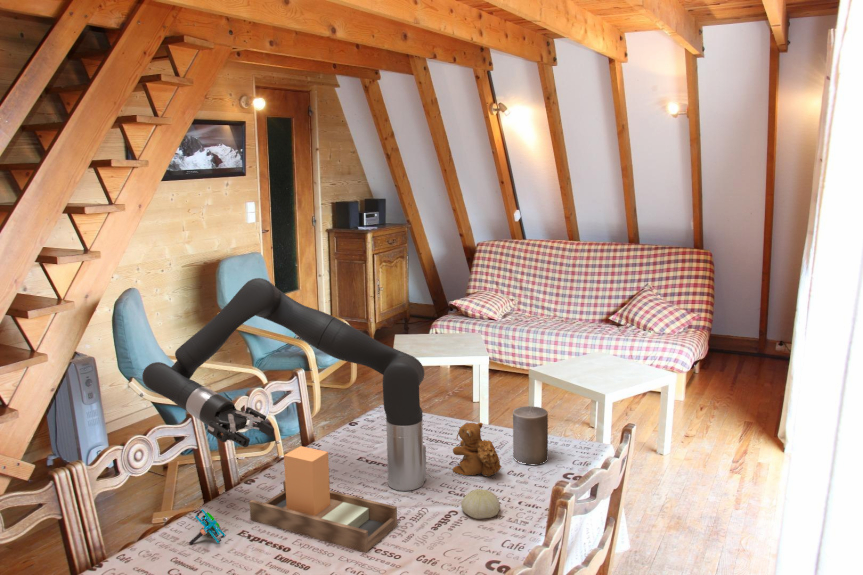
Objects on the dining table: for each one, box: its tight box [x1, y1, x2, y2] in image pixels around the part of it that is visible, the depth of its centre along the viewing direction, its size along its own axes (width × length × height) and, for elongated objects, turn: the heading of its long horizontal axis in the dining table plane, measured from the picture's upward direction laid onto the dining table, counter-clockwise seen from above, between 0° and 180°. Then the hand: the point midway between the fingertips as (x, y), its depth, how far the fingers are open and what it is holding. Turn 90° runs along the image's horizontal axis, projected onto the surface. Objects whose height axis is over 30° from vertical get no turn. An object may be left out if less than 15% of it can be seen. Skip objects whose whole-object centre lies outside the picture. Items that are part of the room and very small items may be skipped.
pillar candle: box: [512, 405, 549, 465], centre depth 194 cm, size 10×10×15 cm
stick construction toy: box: [188, 508, 226, 546], centre depth 155 cm, size 12×7×8 cm
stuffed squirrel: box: [452, 422, 502, 477], centre depth 186 cm, size 10×14×13 cm
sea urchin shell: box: [460, 488, 501, 520], centre depth 165 cm, size 9×8×8 cm
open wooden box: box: [249, 480, 398, 554], centre depth 161 cm, size 32×13×4 cm, turn 62°
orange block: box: [283, 445, 331, 516], centre depth 161 cm, size 8×6×13 cm
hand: (260, 437), depth 163 cm, fingers open, 8 cm apart
